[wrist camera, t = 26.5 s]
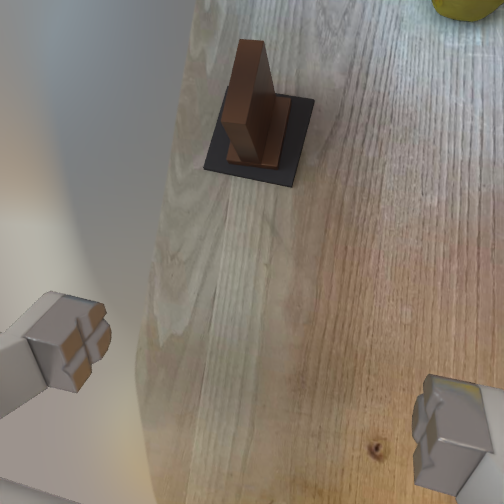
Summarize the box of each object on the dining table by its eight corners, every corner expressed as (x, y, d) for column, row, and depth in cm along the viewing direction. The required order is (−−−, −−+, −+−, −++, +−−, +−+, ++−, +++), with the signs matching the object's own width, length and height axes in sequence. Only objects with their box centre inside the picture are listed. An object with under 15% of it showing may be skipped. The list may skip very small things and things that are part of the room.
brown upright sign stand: (278, 170, 40) (265, 126, 31) (228, 163, 41) (201, 119, 32) (292, 103, 40) (283, 41, 32) (242, 98, 41) (221, 37, 33)
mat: (291, 187, 39) (291, 186, 39) (204, 169, 41) (203, 168, 41) (314, 101, 41) (314, 99, 40) (228, 87, 42) (227, 85, 42)
